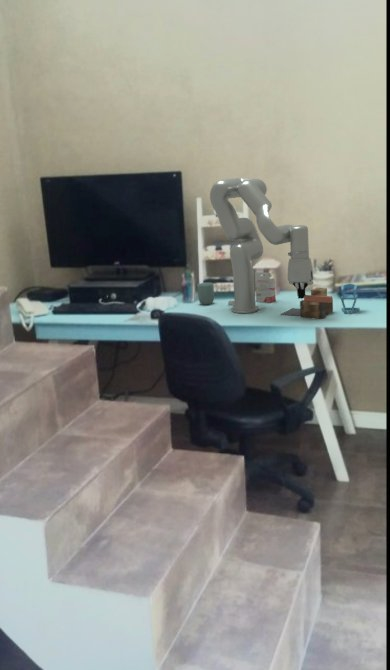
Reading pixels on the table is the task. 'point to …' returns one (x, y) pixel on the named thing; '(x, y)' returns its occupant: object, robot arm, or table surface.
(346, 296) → the chair
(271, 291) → the ink cartridge box
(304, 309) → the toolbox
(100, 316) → the table surface
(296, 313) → the mat
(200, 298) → the cup
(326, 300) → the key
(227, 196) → the robot arm
